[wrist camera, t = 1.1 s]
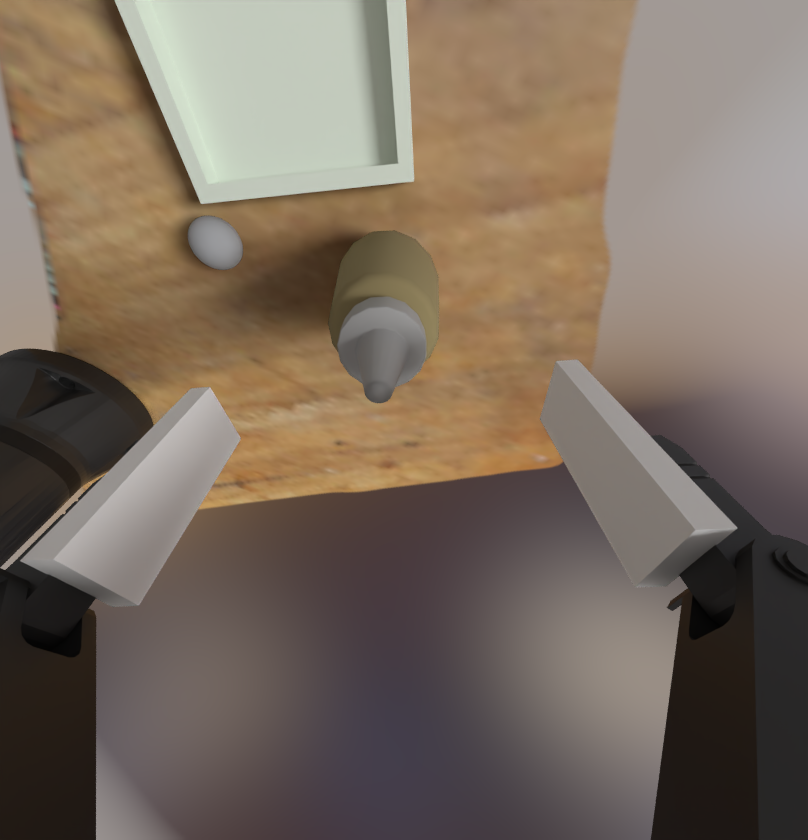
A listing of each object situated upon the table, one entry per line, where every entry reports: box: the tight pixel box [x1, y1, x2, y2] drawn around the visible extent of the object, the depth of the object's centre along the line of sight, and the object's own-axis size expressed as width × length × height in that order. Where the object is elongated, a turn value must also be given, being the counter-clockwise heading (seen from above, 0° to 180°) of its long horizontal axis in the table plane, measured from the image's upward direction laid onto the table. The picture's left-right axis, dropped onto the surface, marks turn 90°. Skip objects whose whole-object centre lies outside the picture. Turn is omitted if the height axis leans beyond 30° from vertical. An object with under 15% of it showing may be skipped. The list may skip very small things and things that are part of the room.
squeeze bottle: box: [328, 230, 439, 403], centre depth 19 cm, size 8×8×18 cm
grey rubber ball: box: [188, 216, 243, 270], centre depth 23 cm, size 4×4×4 cm
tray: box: [115, 0, 414, 204], centre depth 16 cm, size 15×15×2 cm
